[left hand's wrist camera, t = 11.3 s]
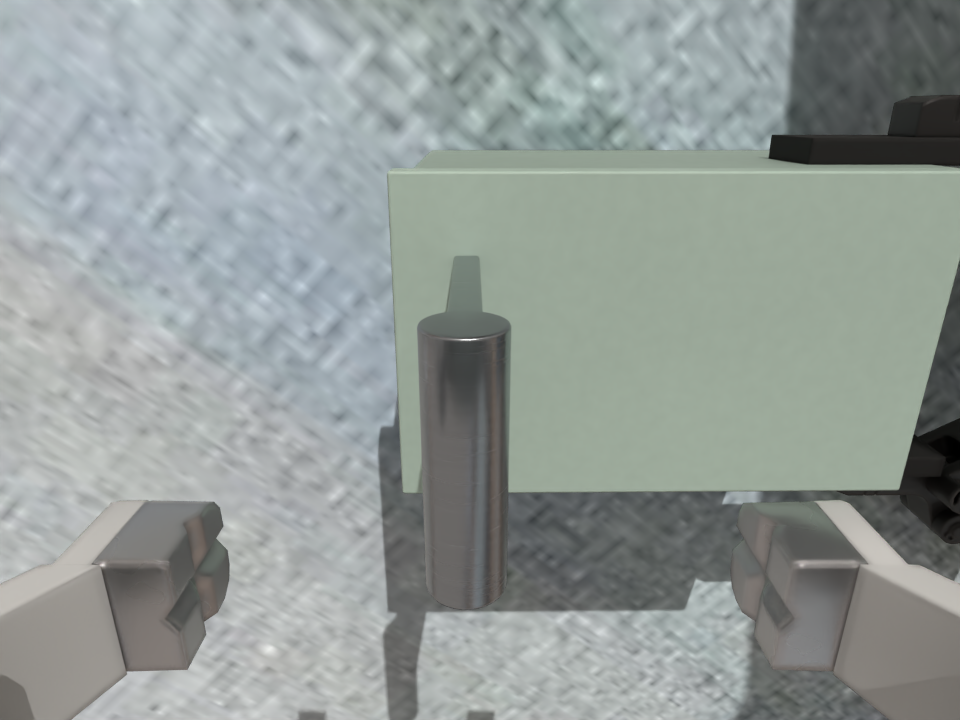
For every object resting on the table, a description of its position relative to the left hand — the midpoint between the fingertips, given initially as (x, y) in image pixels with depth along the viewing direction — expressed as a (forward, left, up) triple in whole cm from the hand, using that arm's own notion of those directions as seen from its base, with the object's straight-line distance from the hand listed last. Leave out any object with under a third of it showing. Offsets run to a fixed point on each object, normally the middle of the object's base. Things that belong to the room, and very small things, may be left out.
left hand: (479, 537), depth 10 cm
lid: (+5, -2, -10) cm, 11 cm away
